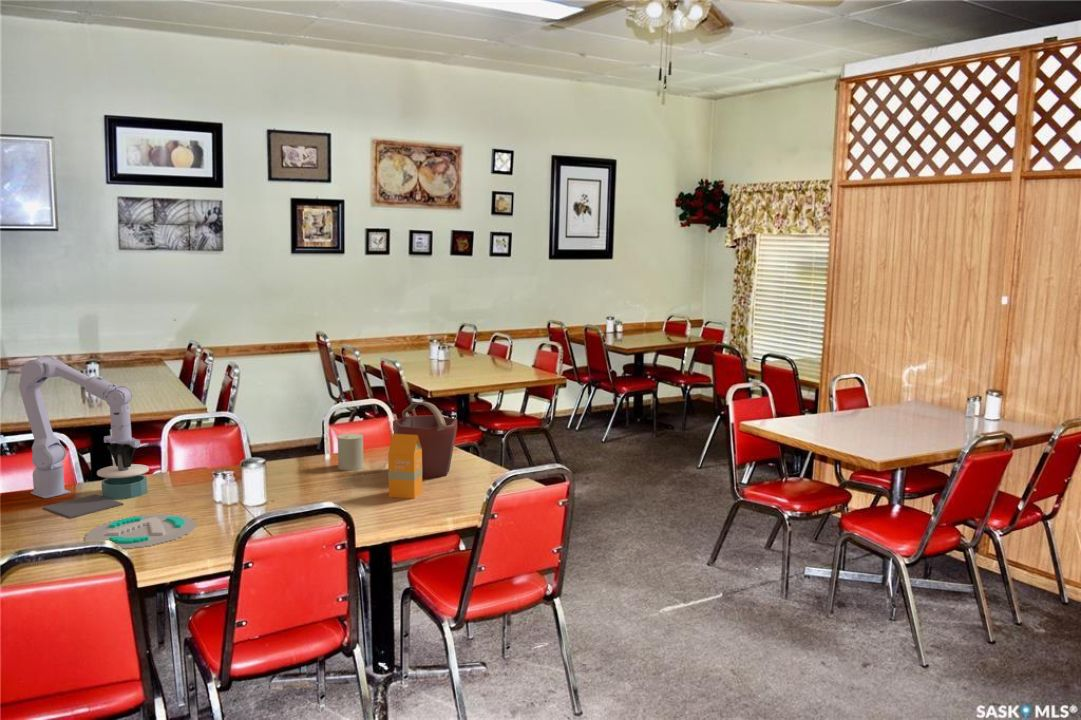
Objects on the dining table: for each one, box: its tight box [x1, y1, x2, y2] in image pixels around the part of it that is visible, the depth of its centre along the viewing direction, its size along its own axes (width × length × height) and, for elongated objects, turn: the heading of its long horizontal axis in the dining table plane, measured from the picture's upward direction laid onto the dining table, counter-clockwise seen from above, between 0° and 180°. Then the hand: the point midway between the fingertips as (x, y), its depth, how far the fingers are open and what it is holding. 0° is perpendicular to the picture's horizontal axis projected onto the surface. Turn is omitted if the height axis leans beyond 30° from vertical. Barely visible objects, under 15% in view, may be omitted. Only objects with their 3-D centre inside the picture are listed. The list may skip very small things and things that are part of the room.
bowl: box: [101, 474, 148, 500], centre depth 276 cm, size 13×13×4 cm
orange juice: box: [387, 432, 423, 499], centre depth 276 cm, size 8×9×20 cm
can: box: [337, 432, 365, 471], centre depth 309 cm, size 9×9×12 cm
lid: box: [96, 454, 150, 479], centre depth 274 cm, size 15×15×6 cm
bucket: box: [392, 401, 458, 480], centre depth 302 cm, size 24×22×25 cm
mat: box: [42, 493, 124, 519], centre depth 262 cm, size 16×16×1 cm
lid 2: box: [83, 513, 198, 550], centre depth 241 cm, size 28×28×2 cm
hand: (123, 466), depth 275 cm, fingers closed on lid, 3 cm apart
